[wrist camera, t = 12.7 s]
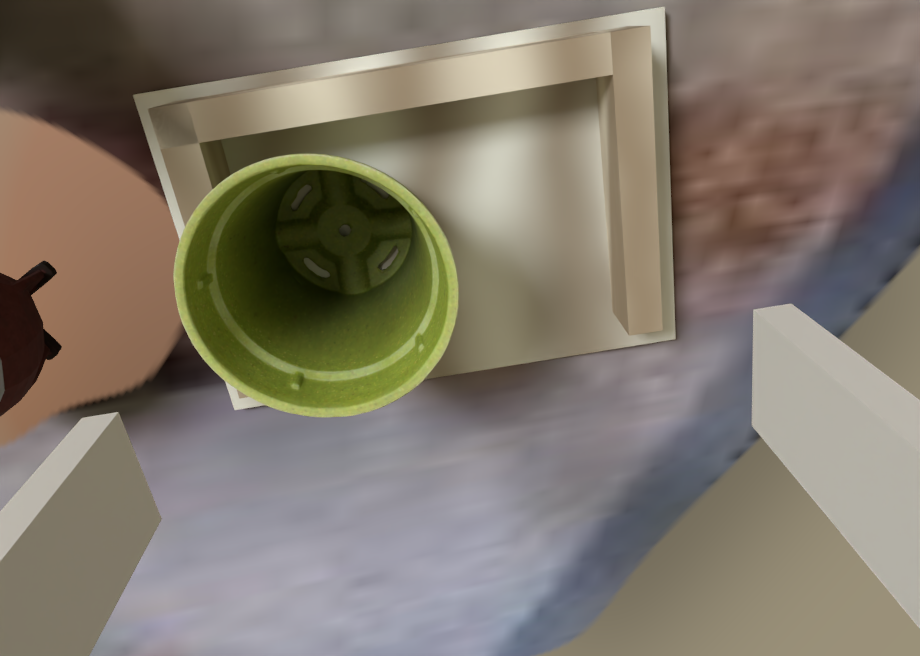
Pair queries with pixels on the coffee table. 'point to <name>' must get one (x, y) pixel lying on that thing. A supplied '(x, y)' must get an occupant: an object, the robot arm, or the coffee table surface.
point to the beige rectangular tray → (478, 172)
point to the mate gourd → (22, 335)
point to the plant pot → (316, 286)
